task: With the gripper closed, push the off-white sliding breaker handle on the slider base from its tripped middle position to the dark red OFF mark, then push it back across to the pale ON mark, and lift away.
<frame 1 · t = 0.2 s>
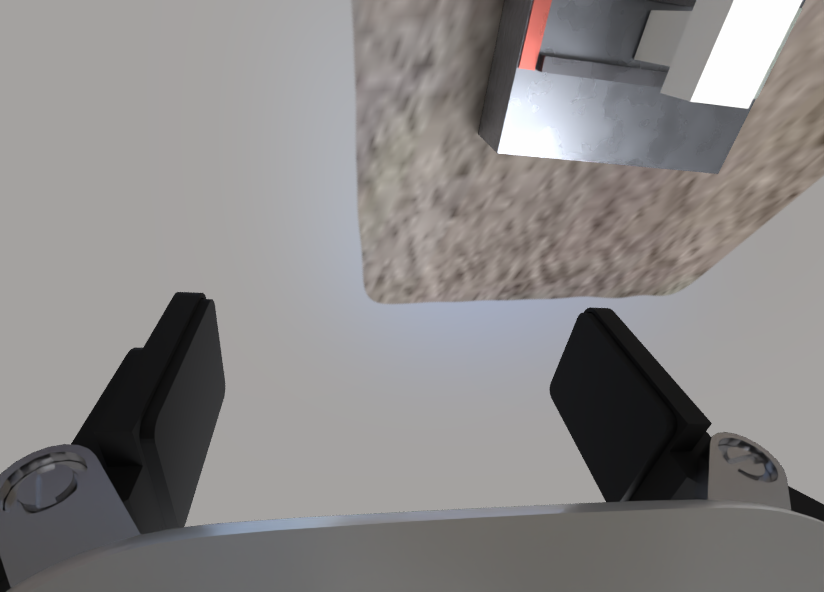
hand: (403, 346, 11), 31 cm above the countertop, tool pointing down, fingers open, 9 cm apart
breaker handle: (698, 42, 28), point 10 cm above the countertop, slide at 0.0 cm
slider base: (616, 33, 36), on the countertop
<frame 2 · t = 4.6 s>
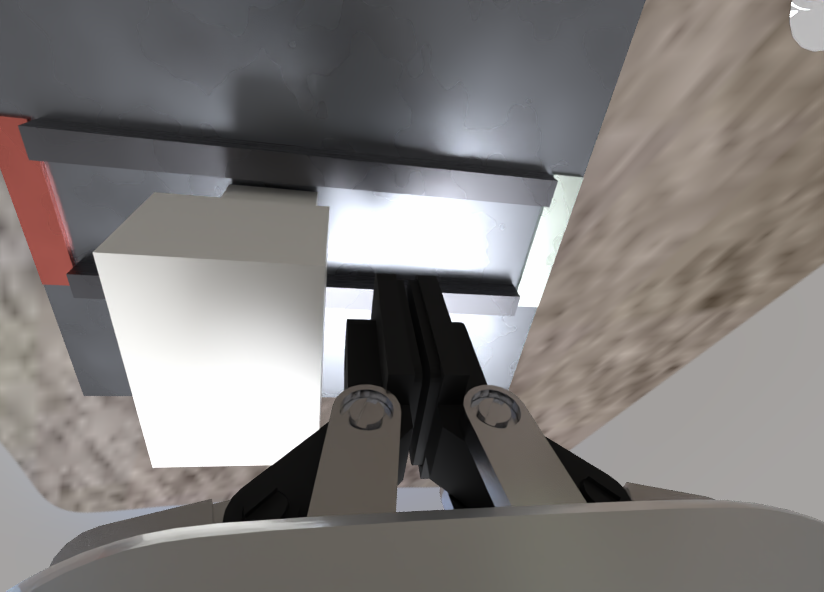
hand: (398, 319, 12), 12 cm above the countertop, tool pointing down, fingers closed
breaker handle: (257, 284, 13), point 10 cm above the countertop, slide at -1.5 cm, touching gripper
slider base: (323, 177, 22), on the countertop
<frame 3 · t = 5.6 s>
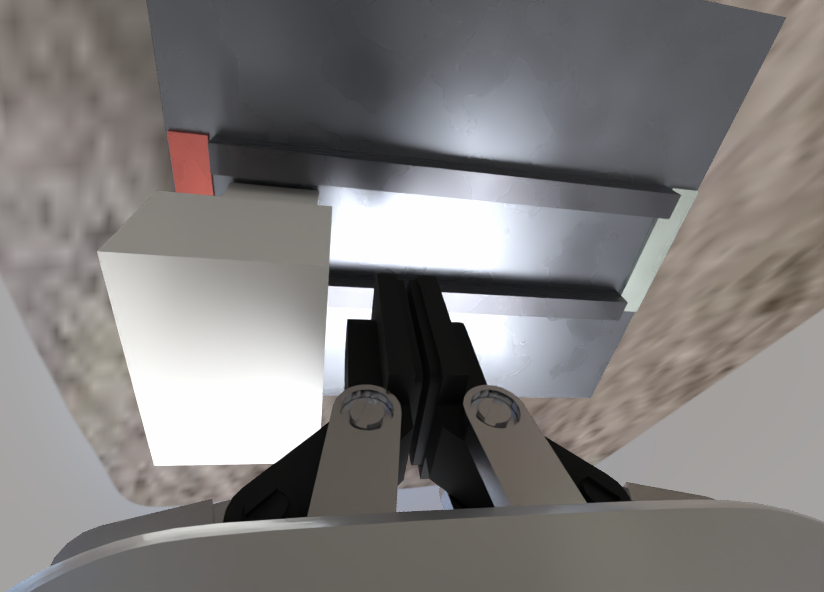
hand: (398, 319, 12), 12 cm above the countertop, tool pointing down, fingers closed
breaker handle: (259, 282, 13), point 10 cm above the countertop, slide at -6.6 cm, touching gripper
slider base: (424, 185, 23), on the countertop
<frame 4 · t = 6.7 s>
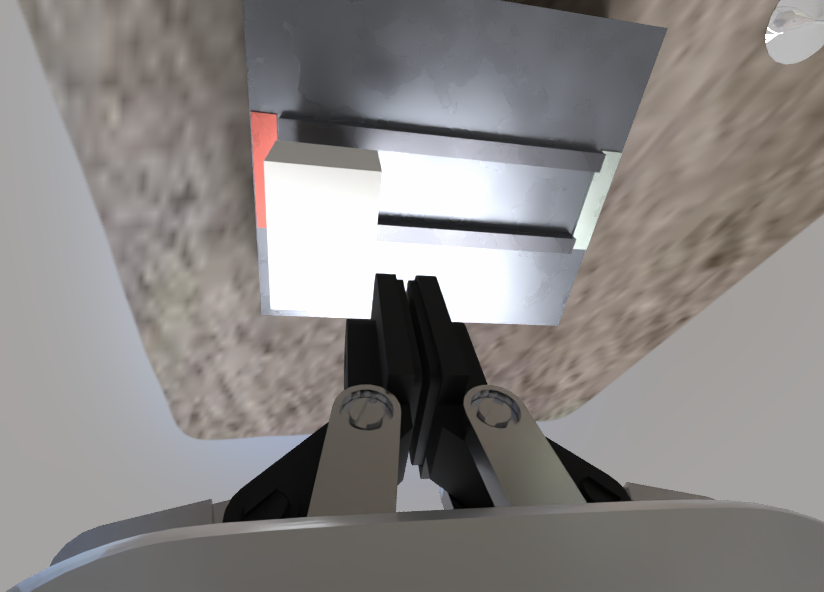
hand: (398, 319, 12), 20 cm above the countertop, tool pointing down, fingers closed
wineglass: (802, 20, 28), on the countertop
breaker handle: (326, 207, 20), point 10 cm above the countertop, slide at -6.1 cm
slider base: (424, 159, 30), on the countertop
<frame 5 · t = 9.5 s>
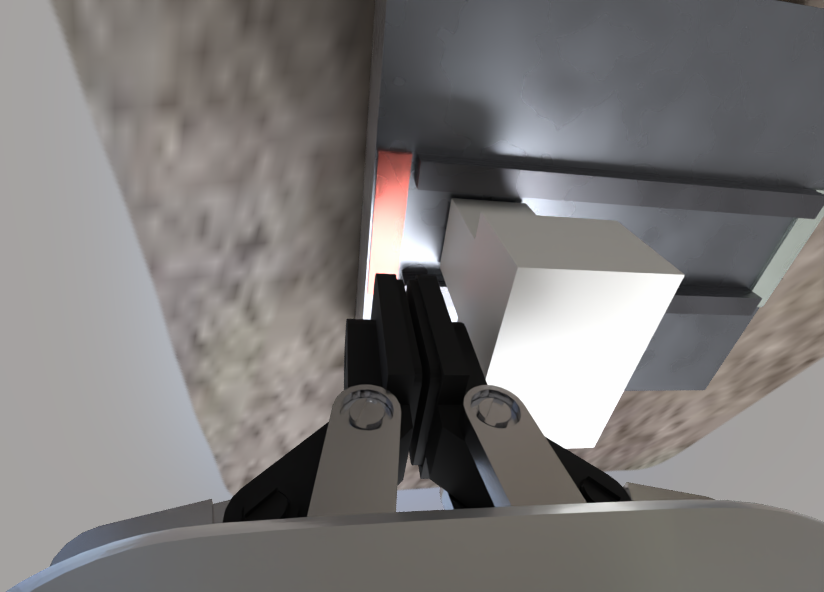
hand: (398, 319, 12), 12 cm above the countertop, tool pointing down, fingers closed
breaker handle: (512, 288, 14), point 10 cm above the countertop, slide at -5.5 cm, touching gripper
slider base: (548, 191, 24), on the countertop
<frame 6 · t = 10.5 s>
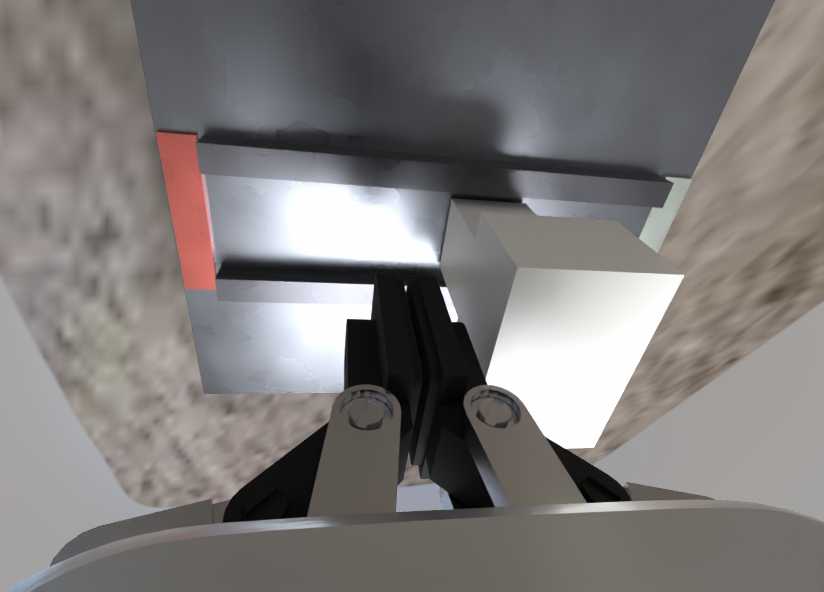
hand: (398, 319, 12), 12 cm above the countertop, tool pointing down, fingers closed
breaker handle: (512, 289, 14), point 10 cm above the countertop, slide at 1.7 cm, touching gripper
slider base: (418, 181, 23), on the countertop
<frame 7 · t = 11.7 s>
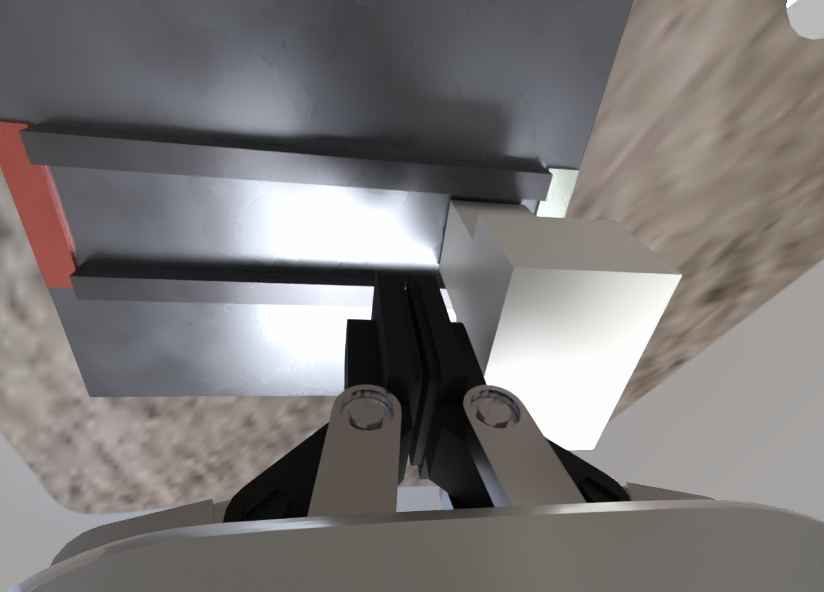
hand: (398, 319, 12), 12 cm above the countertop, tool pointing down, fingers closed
breaker handle: (511, 290, 14), point 10 cm above the countertop, slide at 6.6 cm, touching gripper
slider base: (321, 177, 22), on the countertop
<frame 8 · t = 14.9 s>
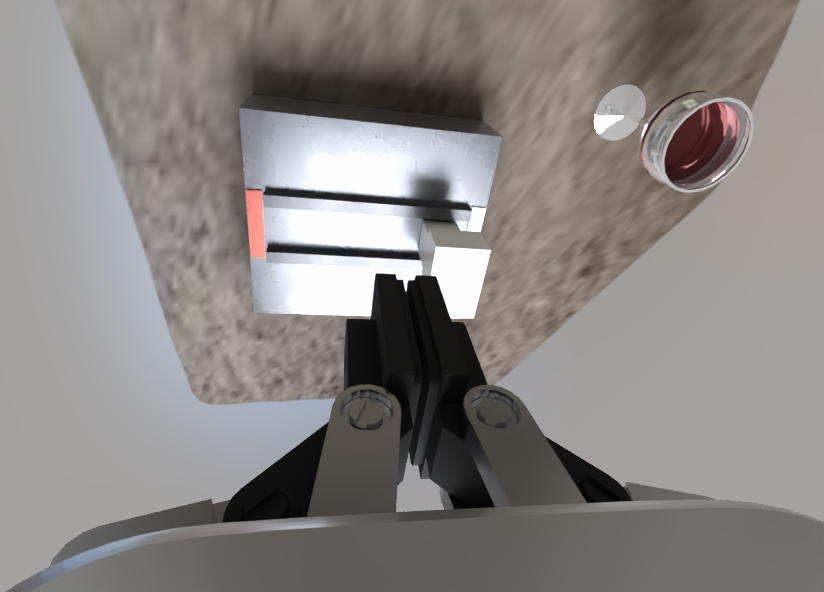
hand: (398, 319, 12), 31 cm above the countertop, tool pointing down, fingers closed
wineglass: (618, 112, 41), on the countertop
breaker handle: (445, 258, 36), point 10 cm above the countertop, slide at 6.1 cm
slider base: (365, 205, 43), on the countertop
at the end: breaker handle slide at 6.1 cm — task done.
